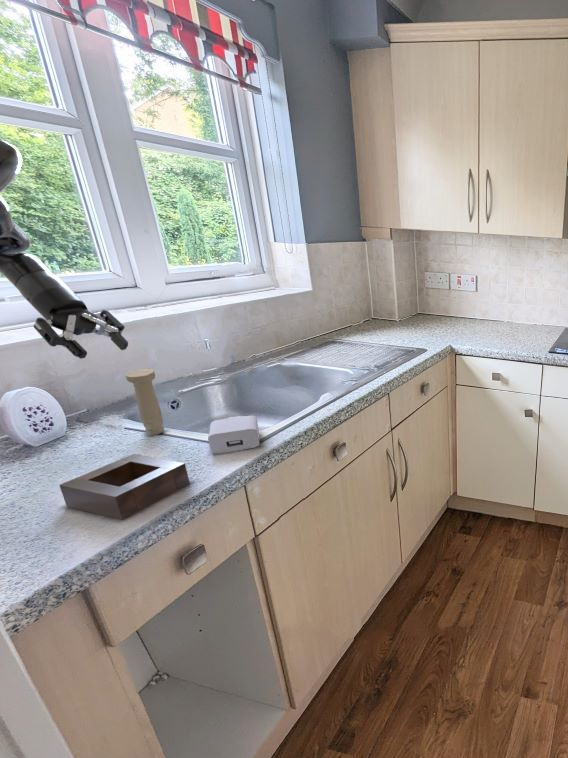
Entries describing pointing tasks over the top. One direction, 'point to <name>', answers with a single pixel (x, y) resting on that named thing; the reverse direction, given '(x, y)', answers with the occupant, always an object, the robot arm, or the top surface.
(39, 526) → the top surface
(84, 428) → the top surface
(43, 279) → the robot arm
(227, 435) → the charger
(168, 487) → the socket
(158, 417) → the handle
